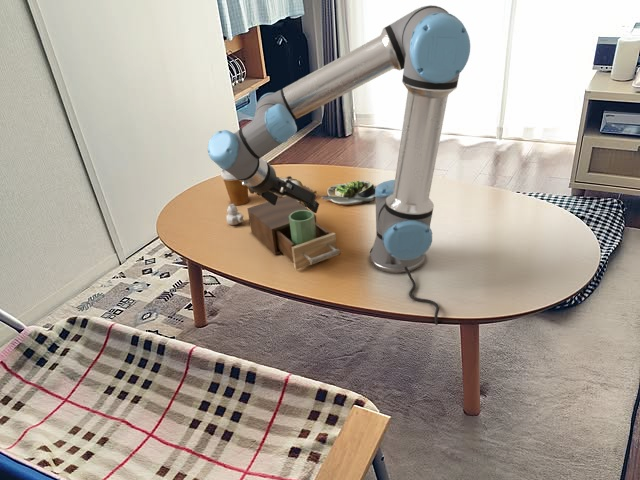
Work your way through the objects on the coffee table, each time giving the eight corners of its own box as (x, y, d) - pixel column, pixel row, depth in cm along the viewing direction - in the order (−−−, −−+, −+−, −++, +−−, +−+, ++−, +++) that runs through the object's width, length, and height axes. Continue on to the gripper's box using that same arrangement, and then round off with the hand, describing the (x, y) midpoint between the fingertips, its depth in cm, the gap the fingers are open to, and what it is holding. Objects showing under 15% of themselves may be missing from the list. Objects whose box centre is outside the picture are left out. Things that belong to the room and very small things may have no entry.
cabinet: (318, 240, 173) (315, 214, 168) (275, 255, 168) (271, 229, 163) (292, 219, 186) (289, 195, 181) (251, 233, 181) (247, 208, 176)
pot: (321, 250, 164) (318, 216, 158) (300, 258, 162) (296, 223, 155) (310, 240, 169) (306, 207, 163) (289, 248, 167) (284, 214, 160)
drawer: (348, 263, 159) (346, 242, 155) (306, 279, 154) (303, 257, 150) (310, 233, 176) (307, 213, 171) (271, 246, 171) (267, 226, 167)
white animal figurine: (232, 219, 190) (228, 197, 186) (249, 222, 188) (245, 200, 183) (223, 226, 187) (219, 204, 182) (240, 229, 184) (235, 207, 179)
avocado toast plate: (325, 212, 188) (324, 199, 186) (317, 191, 203) (316, 179, 200) (381, 203, 190) (381, 191, 187) (369, 183, 204) (369, 171, 202)
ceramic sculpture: (283, 166, 201) (317, 176, 194) (285, 188, 206) (318, 198, 199) (264, 177, 194) (298, 188, 187) (266, 200, 200) (300, 211, 193)
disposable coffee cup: (258, 198, 202) (253, 166, 195) (241, 209, 196) (235, 176, 189) (237, 194, 207) (232, 162, 200) (221, 204, 201) (214, 172, 193)
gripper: (211, 180, 141) (255, 210, 160) (293, 195, 130) (330, 225, 149) (220, 152, 142) (263, 185, 161) (303, 164, 130) (339, 198, 149)
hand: (295, 204), depth 155 cm, fingers open, 13 cm apart
